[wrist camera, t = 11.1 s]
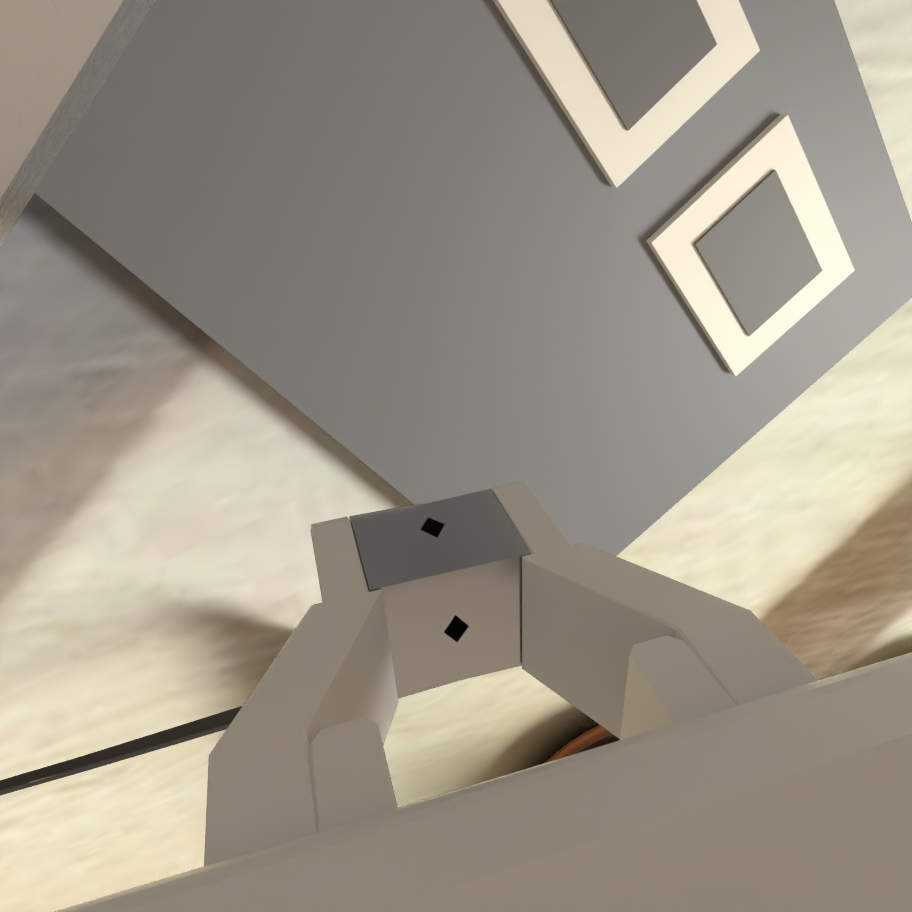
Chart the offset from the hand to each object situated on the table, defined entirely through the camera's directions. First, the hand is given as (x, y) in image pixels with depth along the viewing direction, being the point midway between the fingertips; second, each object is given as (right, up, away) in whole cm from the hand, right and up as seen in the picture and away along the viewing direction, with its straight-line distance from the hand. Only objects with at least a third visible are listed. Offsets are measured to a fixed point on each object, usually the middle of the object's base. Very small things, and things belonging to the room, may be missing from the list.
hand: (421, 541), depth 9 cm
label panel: (+3, +9, +10) cm, 14 cm away
